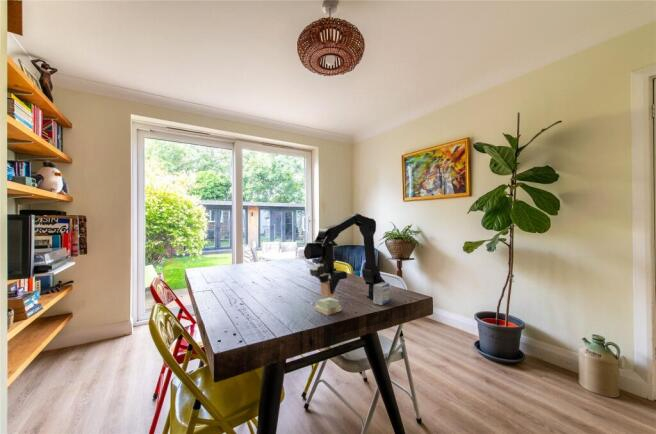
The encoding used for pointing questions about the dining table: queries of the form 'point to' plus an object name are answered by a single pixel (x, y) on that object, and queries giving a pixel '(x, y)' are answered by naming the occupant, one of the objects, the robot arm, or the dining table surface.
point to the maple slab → (329, 311)
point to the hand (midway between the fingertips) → (328, 292)
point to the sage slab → (328, 303)
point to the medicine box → (381, 293)
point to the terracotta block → (326, 289)
